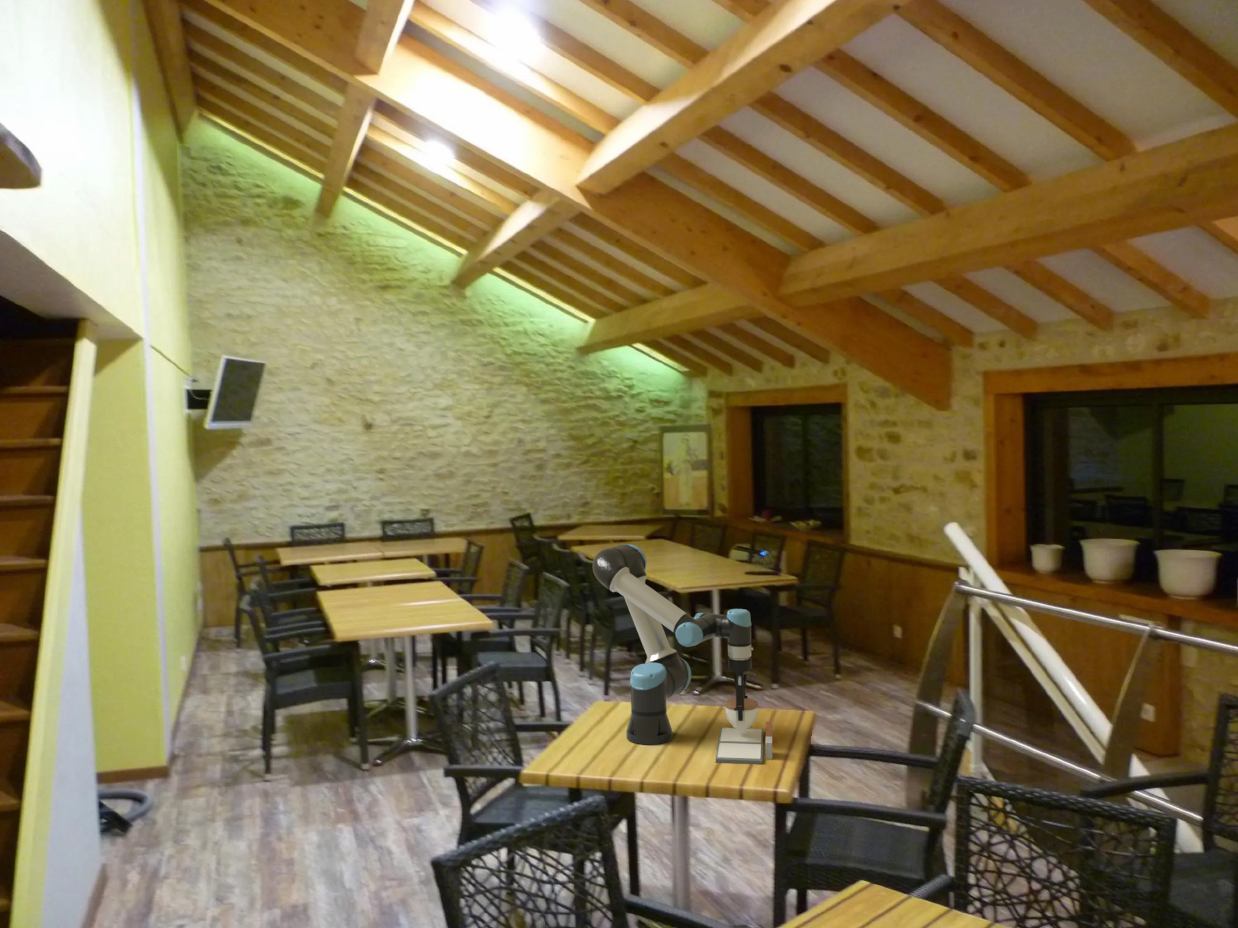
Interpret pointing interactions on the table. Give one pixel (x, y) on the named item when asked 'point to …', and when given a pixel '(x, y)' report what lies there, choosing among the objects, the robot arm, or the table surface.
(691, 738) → the table surface
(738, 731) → the board
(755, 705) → the lidded jar
